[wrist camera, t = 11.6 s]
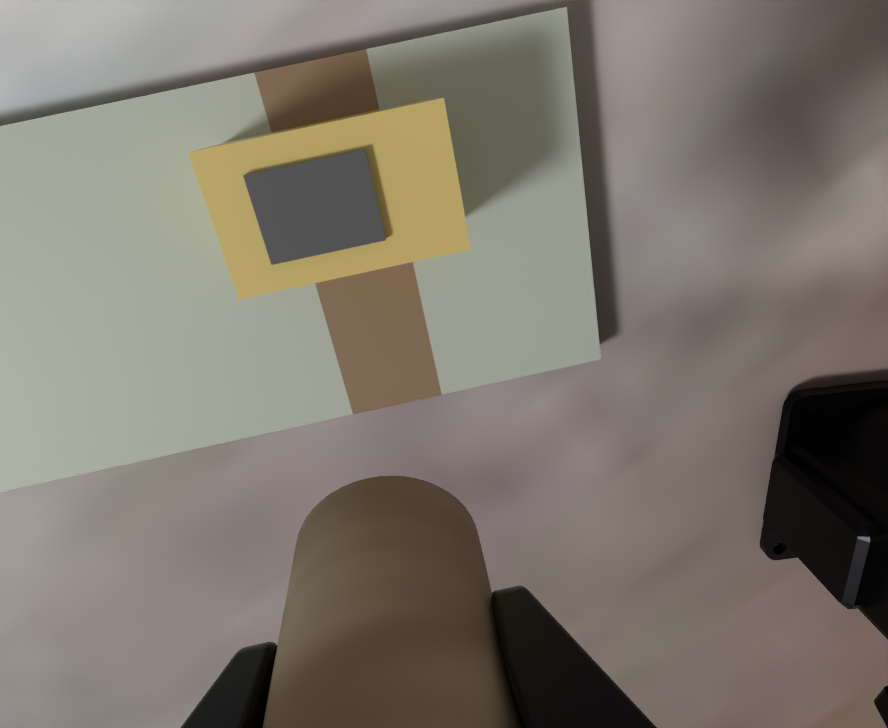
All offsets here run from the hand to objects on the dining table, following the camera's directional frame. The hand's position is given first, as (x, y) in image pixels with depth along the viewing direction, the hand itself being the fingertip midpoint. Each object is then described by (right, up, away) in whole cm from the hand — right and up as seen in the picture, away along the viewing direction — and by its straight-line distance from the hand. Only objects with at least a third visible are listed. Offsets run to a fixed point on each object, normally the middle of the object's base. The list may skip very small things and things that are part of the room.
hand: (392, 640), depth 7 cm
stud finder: (-2, +8, +8) cm, 11 cm away
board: (-5, +6, +9) cm, 12 cm away
